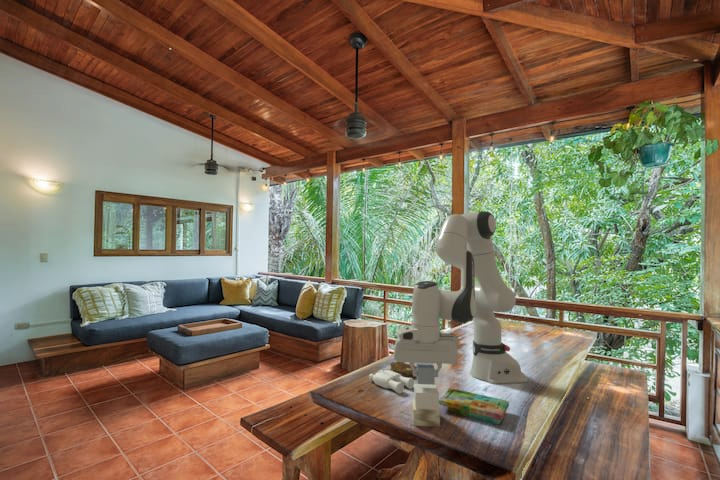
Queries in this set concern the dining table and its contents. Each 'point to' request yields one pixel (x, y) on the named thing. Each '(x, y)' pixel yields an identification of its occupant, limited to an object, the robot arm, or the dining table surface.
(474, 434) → the dining table surface
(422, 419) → the birch slab
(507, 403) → the puzzle game
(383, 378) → the binoculars
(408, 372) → the decorative rock
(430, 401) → the white block
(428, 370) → the grey cube
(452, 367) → the dining table surface
